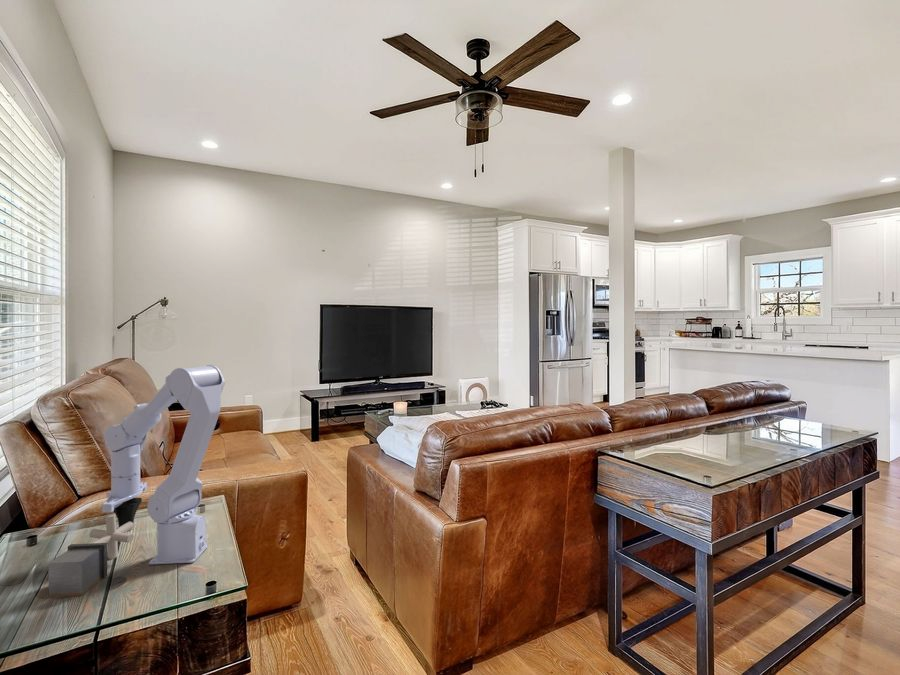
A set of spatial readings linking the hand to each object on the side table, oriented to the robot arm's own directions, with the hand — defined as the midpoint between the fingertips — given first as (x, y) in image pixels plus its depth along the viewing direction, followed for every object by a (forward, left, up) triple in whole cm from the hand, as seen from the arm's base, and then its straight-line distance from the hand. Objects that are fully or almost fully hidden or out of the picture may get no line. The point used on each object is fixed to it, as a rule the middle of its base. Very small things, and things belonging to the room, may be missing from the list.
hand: (125, 530), depth 112 cm
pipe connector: (0, +5, -4) cm, 6 cm away
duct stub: (-1, +17, -4) cm, 18 cm away
